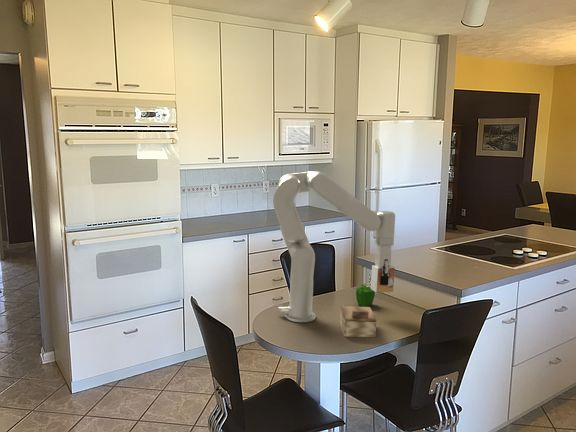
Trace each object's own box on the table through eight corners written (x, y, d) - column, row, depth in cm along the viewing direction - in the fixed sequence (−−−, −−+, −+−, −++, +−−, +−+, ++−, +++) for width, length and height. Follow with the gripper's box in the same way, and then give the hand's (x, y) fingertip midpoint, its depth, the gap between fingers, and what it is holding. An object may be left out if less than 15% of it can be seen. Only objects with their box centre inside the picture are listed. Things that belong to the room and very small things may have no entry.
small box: (376, 293, 200) (377, 268, 199) (370, 289, 206) (371, 265, 204) (393, 291, 203) (395, 267, 201) (387, 288, 208) (388, 264, 206)
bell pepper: (377, 307, 218) (378, 285, 217) (361, 309, 215) (362, 287, 214) (367, 301, 226) (369, 280, 224) (352, 303, 223) (353, 282, 221)
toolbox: (344, 336, 184) (344, 321, 183) (339, 322, 198) (340, 308, 197) (375, 337, 184) (376, 322, 183) (369, 323, 198) (369, 309, 197)
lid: (344, 320, 183) (345, 312, 182) (340, 308, 197) (341, 300, 196) (376, 321, 183) (376, 313, 183) (369, 308, 197) (370, 301, 196)
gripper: (371, 236, 209) (369, 276, 212) (379, 245, 192) (377, 288, 195) (389, 237, 209) (386, 276, 212) (398, 245, 192) (395, 288, 195)
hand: (382, 282), depth 204 cm, fingers closed on small box, 6 cm apart
